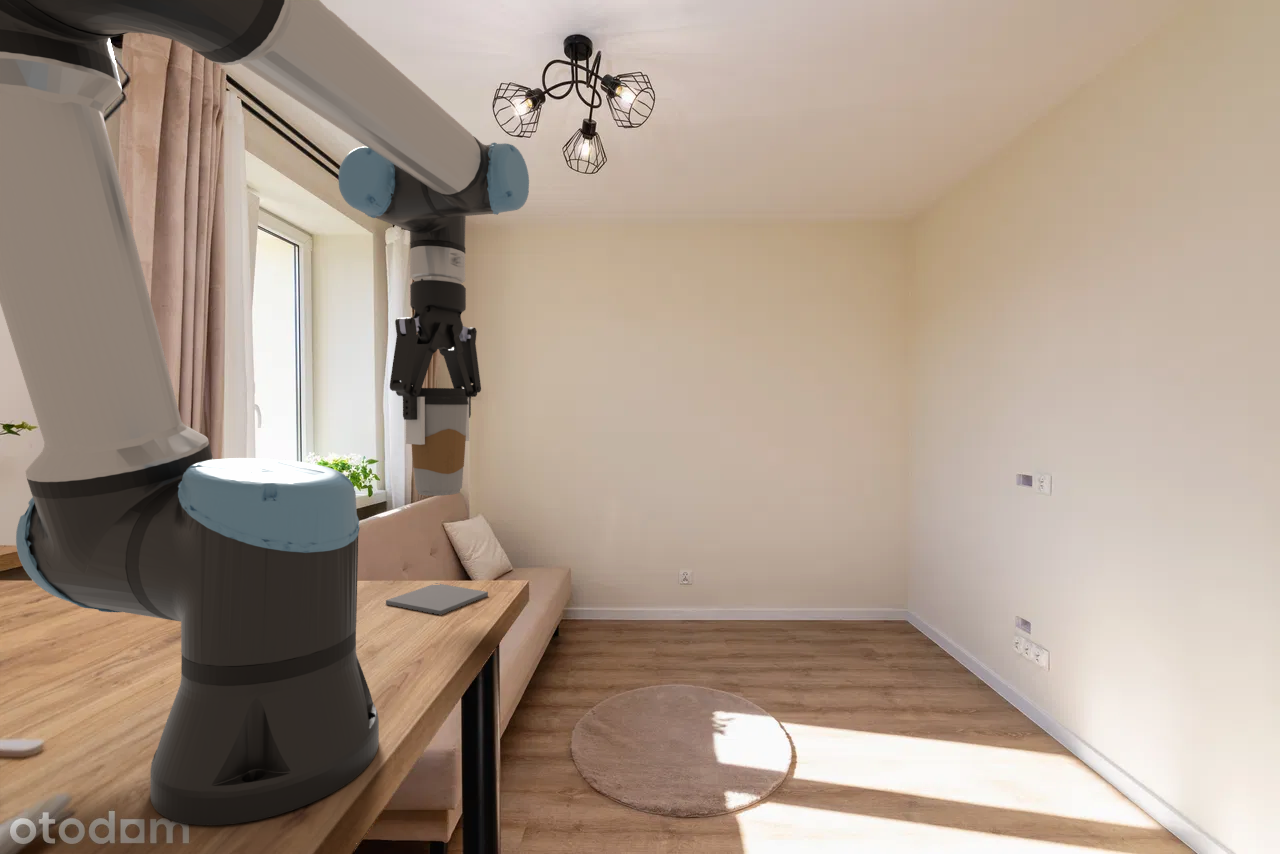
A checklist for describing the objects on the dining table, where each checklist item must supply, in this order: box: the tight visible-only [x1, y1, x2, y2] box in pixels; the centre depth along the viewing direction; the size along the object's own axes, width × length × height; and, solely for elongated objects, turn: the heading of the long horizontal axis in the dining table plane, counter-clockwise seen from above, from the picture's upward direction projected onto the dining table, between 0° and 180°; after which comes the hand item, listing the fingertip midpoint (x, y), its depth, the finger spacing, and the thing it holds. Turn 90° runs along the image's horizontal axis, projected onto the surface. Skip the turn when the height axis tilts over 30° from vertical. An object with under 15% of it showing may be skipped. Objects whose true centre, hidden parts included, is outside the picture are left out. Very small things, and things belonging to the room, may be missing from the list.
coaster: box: [385, 583, 489, 616], centre depth 91 cm, size 10×10×1 cm
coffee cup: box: [411, 387, 469, 497], centre depth 90 cm, size 8×8×15 cm
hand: (438, 442), depth 90 cm, fingers closed on coffee cup, 8 cm apart
